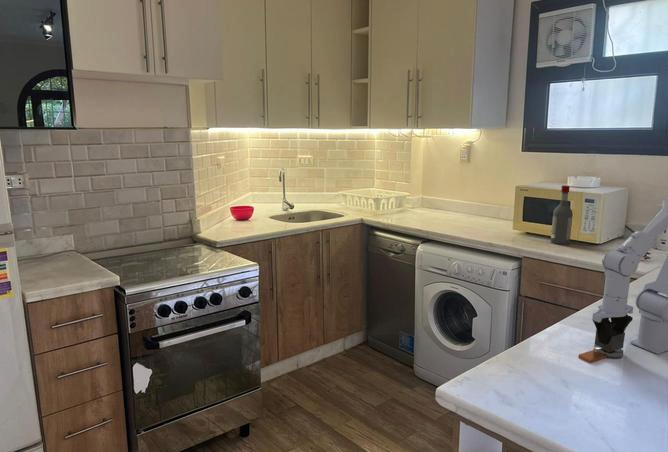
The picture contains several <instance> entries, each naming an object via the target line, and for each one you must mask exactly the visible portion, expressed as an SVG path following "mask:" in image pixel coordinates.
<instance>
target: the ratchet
mask: <svg viewBox="0 0 668 452" xmlns="http://www.w3.org/2000/svg"><path fill="white" fill-rule="evenodd" d="M577 357H578V359H580V360H582V361H584V362H587V363H589V364H592V363H596V362H599V361H601V360H605V359H610V360H611V359H612V360H620V359H622V358H623V357H624V350H623V348H621V349H618V350H615V351H612V352H611V351H609V350H606V349H604V348H602V347H599V346H597V345H595V344H594V345H593V349H592V350H588V351H585V352H583V353H579V354H578V356H577Z"/></svg>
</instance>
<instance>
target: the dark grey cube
mask: <svg viewBox="0 0 668 452" xmlns="http://www.w3.org/2000/svg"><path fill="white" fill-rule="evenodd" d="M595 329H596V328H595ZM625 335H626V333H625V331H624V332H622V331H619V330H617V329H614V328H613V329H612V331H611V334H610V338H609V341H608V344H607V345H604V344H602V343H600V342H599V339H598V333H597V329H596V330H595V338H594V339H595V340H594V345H597V346H599V347H602V348H604V349H606V350H609V351H611V352H612V351H615V350H618V349H623V348H624V345H625V343H624V342H625V337H626V336H625Z"/></svg>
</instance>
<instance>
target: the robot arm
mask: <svg viewBox="0 0 668 452" xmlns="http://www.w3.org/2000/svg"><path fill="white" fill-rule="evenodd" d="M667 229H668V196H666V198H665V199H664V200H662V204H661V209H660V210H659V212H658V213H657V214H656V215H655V216H654V217H653V219H651V221H650V222H649V223H648V224H647V225H646V226H645V228H644V229H643V230H637V231H636V230H635V232H633V233H631V235H630V236H629V237H628V238H627V239H626V240H625V241H624V242H623V243H621V245H619V247H617V248H616V249H612V250H609V251H608V252H606V253H605V255H604V256H603V258H602V261H601V264H602V267H603V269H604V273H603V274H604V276H605V279H604V280H605V281H604V288H603V296H602V303H601V304H600V305H598V306H597V307H598V310H597V311H595V312H593V313H592V317H591V319H592V320H591V321H592V322H593V324H594V326H595V329H597V333H598V339H599V342H600V343H602V344H604V345H607V344H608V341H609V338H610V334H611V331H612V329H613V328H614V329H617V330H619V331H622V332H624V333H625V331H626V329H627V327H628V326H629V325H630V323H631V322H632V321H633V318H634V317H633V316H631V314H634V306H632V305H629V304H628V298H629V292H630V284H631V276H632V275H633V274H634V273H636V271H637V270H638V268H639V264H640V263H641V259H642V258H643V257H644V256H646V254H647V253H649V251H651V250H652V249H653V248H654V247H655V240H656V238H658V237H659V236H660V235H661V234H663V233H664V232H665V231H667ZM635 306H636V308H637V309H638V313H639V314H640V319H639V320H640V321H639V326H638V332H637V333H638V334H637V338H636V339H633V340H630V341H629V343H630V345H631V344H632V345H634V346H636V347H639V348H641V349H644V350H647V351H649V352H651V353H654V354H656V355H659V354H662V353H665V352H667V351H668V254H667V255H666V257H665V259H664V261H663V263H662V265H661V268H660V270H659V272H658V275H657V277H656V279H655V280H653V281H651V282H647V283H645V284H644V287H643V288H642V289H641V291H640V292H639V293H638V294H637V296H636V298H635ZM628 314H629V315H628Z"/></svg>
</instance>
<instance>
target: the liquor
mask: <svg viewBox="0 0 668 452" xmlns="http://www.w3.org/2000/svg"><path fill="white" fill-rule="evenodd" d="M560 192H561V198H560V203H559V204H558V205H557V206H556V207H555V208H554V210H553V215H552V223H551V234H550V243H551V244H555V245H563V246H566V245H567V246H568V245H569V244H570V242H571V233H572V227H573V226H572V225H573V217H574V216H573V213H574V212H573V210H572V209H571V207H570V206H569V204H568V203H569V202H568V201H569V199H568V198H569V192H570V185H561V190H560Z"/></svg>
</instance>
